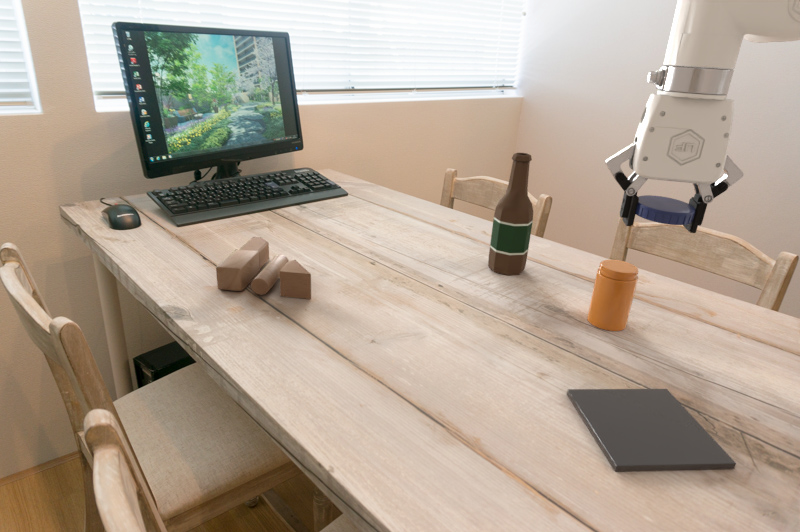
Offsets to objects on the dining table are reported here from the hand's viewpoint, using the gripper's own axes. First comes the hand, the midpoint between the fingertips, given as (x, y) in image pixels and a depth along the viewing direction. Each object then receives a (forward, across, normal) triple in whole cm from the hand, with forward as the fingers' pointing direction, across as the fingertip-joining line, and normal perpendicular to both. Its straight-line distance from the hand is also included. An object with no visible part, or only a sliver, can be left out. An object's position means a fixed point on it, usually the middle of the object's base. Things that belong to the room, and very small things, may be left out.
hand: (658, 225), depth 70 cm
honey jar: (+22, 0, +14) cm, 26 cm away
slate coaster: (+22, 0, -14) cm, 26 cm away
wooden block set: (+22, -60, +15) cm, 65 cm away
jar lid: (-3, 0, -1) cm, 3 cm away
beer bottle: (+22, -17, +33) cm, 43 cm away
